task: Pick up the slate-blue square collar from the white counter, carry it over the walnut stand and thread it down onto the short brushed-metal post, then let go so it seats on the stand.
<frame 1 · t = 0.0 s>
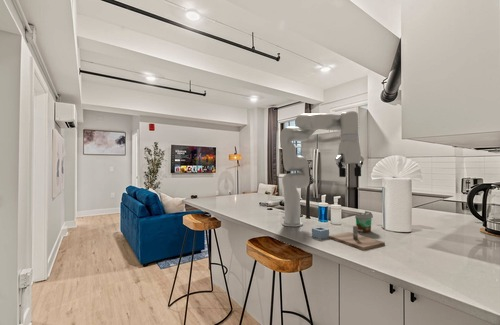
hand: (350, 176, 112), 31 cm above the counter, fingers open, 9 cm apart
collar: (320, 236, 125), on the counter
shaft stand: (355, 241, 117), on the counter
food container: (366, 232, 133), on the counter
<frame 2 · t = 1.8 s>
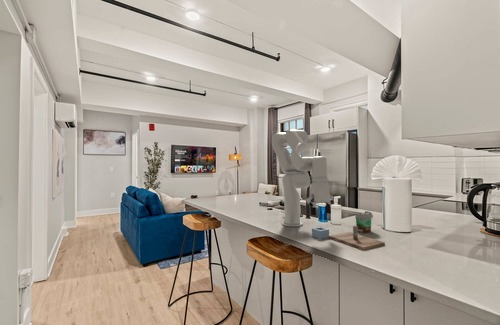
hand: (320, 214, 125), 12 cm above the counter, fingers open, 9 cm apart
nothing on the counter moved.
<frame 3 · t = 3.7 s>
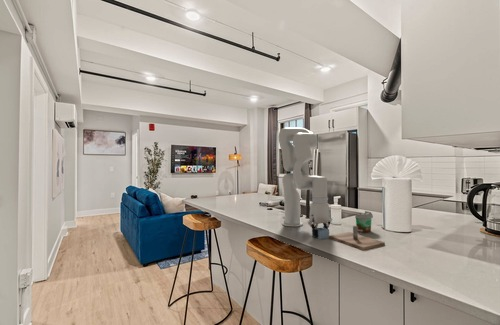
hand: (320, 235, 125), 1 cm above the counter, fingers closed on collar, 6 cm apart
collar: (320, 236, 125), on the counter, touching gripper
everything else where it was.
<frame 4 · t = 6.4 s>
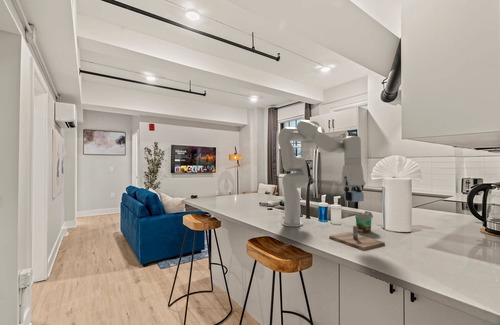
hand: (353, 199, 117), 20 cm above the counter, fingers closed on collar, 6 cm apart
collar: (353, 200, 117), point 19 cm above the counter, touching gripper
everything else where it was.
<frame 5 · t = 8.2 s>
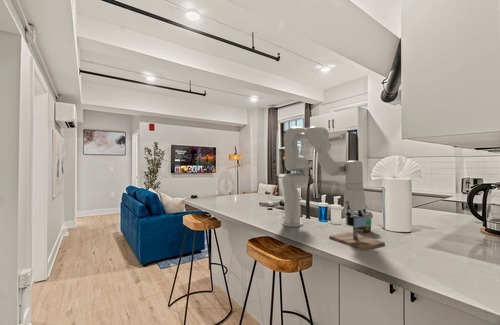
hand: (355, 224, 117), 8 cm above the counter, fingers closed on collar, 6 cm apart
collar: (355, 225, 117), point 8 cm above the counter, touching gripper
everything else where it was.
when the fingers open (6 cm above the counter, at t = 9.5 s): collar drops 4 cm, resting on shaft stand.
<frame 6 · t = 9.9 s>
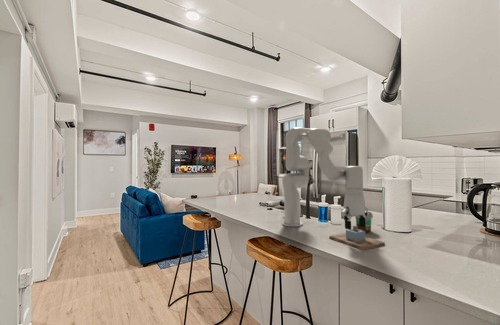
hand: (355, 227, 117), 6 cm above the counter, fingers open, 9 cm apart
collar: (355, 238, 117), point 1 cm above the counter, touching shaft stand
everything else where it was.
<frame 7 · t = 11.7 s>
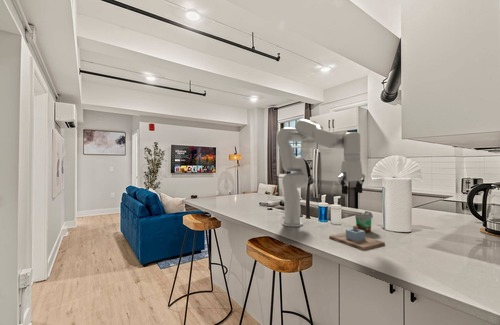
hand: (352, 193, 119), 23 cm above the counter, fingers open, 9 cm apart
nothing on the counter moved.
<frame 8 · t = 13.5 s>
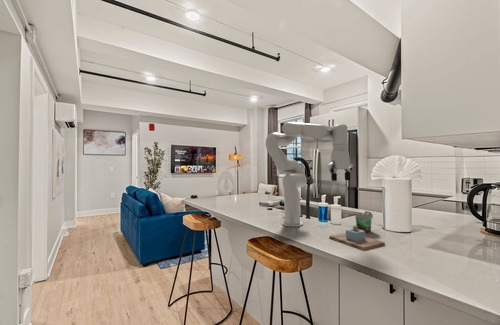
hand: (340, 180, 130), 28 cm above the counter, fingers open, 9 cm apart
nothing on the counter moved.
at the end: collar 0.0 cm off-centre on the shaft stand, point 1.2 cm above the shaft stand's base; collar tilted 0°; the gripper is holding nothing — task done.
